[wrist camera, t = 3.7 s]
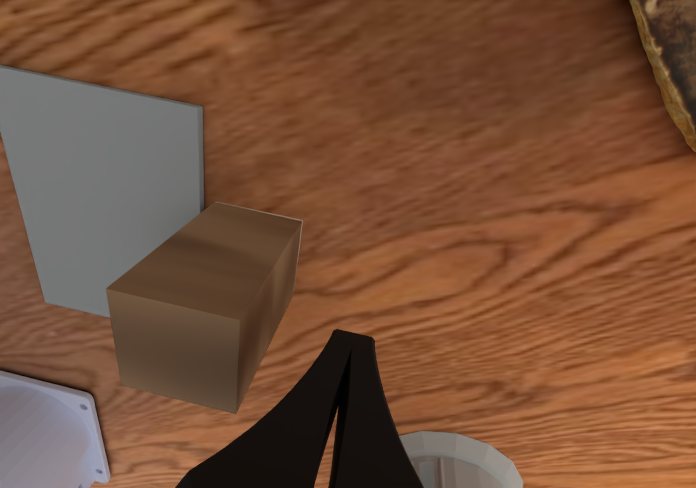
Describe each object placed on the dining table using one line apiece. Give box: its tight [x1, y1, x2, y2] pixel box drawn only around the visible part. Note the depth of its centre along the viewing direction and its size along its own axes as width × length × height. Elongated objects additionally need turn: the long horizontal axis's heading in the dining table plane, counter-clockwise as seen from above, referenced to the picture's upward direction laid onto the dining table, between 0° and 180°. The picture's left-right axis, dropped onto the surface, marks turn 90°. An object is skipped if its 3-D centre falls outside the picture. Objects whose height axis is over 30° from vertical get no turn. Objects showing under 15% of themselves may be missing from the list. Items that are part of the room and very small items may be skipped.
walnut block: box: [106, 201, 303, 414], centre depth 15 cm, size 4×4×7 cm
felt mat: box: [0, 65, 204, 318], centre depth 18 cm, size 12×9×1 cm
